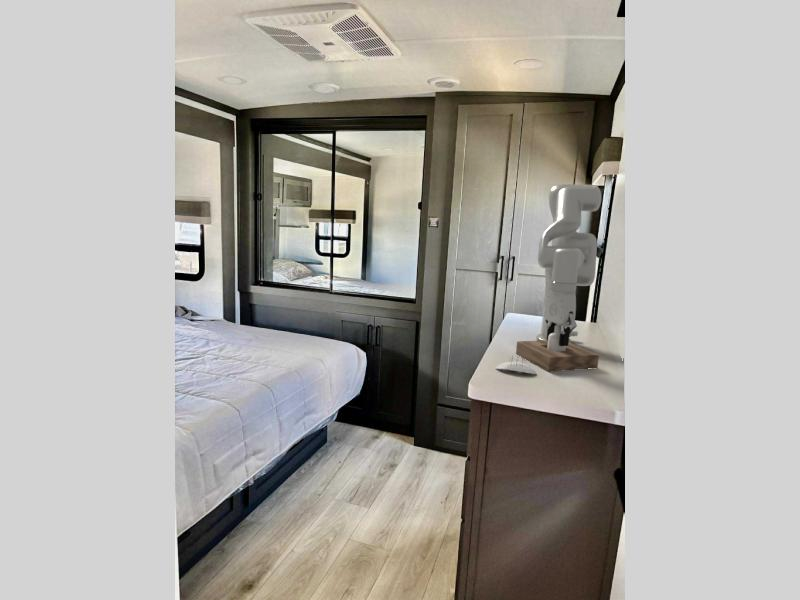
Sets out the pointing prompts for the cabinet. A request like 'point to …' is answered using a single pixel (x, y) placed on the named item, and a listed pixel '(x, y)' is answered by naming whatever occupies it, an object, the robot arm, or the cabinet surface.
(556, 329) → the eye dropper bottle
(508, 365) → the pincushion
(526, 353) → the walnut socket block
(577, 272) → the robot arm
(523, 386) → the cabinet surface
